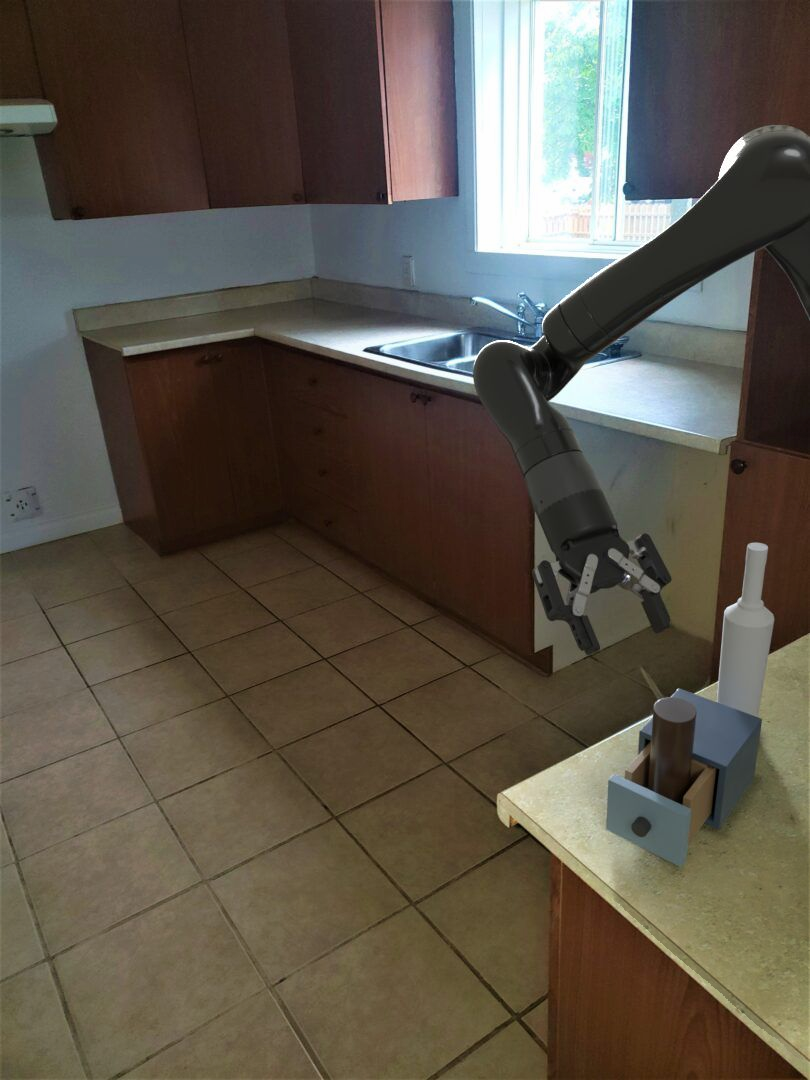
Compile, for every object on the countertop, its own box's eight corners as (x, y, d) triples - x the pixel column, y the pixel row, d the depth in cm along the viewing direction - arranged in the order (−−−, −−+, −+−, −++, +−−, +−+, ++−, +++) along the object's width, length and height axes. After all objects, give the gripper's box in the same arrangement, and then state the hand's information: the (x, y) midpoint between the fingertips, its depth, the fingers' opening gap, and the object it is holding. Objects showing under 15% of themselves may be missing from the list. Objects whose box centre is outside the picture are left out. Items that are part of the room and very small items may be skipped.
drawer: (675, 875, 79) (680, 823, 76) (599, 836, 84) (601, 786, 81) (716, 817, 85) (722, 767, 82) (644, 784, 90) (647, 735, 87)
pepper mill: (669, 791, 87) (678, 692, 82) (695, 816, 84) (706, 714, 78) (637, 804, 86) (644, 704, 80) (663, 830, 83) (671, 727, 77)
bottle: (708, 741, 97) (729, 554, 86) (714, 716, 101) (734, 533, 90) (755, 752, 95) (782, 560, 84) (759, 725, 99) (785, 539, 88)
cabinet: (719, 830, 84) (726, 767, 81) (635, 791, 90) (639, 730, 87) (753, 779, 91) (762, 718, 87) (673, 746, 96) (678, 687, 93)
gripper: (524, 502, 83) (585, 651, 79) (639, 474, 88) (704, 613, 83) (500, 530, 90) (555, 669, 85) (608, 503, 95) (667, 633, 90)
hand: (629, 641), depth 84 cm, fingers open, 8 cm apart
